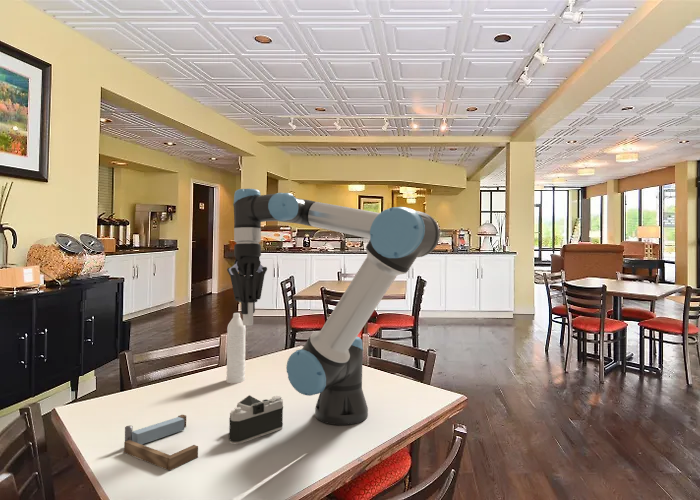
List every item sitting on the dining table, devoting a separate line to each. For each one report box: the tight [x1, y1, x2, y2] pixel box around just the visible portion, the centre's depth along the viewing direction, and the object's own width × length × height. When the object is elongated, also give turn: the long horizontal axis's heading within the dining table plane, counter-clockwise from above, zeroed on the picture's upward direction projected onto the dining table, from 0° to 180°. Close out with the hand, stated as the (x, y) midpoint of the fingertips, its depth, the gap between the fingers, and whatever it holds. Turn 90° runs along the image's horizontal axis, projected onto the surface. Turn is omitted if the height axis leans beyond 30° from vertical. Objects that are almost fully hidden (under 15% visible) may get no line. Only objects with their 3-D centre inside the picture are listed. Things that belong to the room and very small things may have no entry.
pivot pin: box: [124, 425, 133, 442], centre depth 106 cm, size 2×2×5 cm
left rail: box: [167, 444, 199, 471], centre depth 99 cm, size 1×7×2 cm, turn 149°
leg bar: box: [132, 416, 185, 445], centre depth 112 cm, size 12×3×3 cm, turn 144°
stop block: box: [177, 414, 187, 429], centre depth 119 cm, size 2×1×3 cm
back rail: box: [123, 440, 171, 471], centre depth 100 cm, size 15×1×2 cm, turn 59°
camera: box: [228, 394, 284, 445], centre depth 116 cm, size 16×9×10 cm, turn 137°
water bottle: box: [226, 312, 247, 384], centre depth 162 cm, size 9×6×25 cm
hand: (248, 325), depth 128 cm, fingers closed
